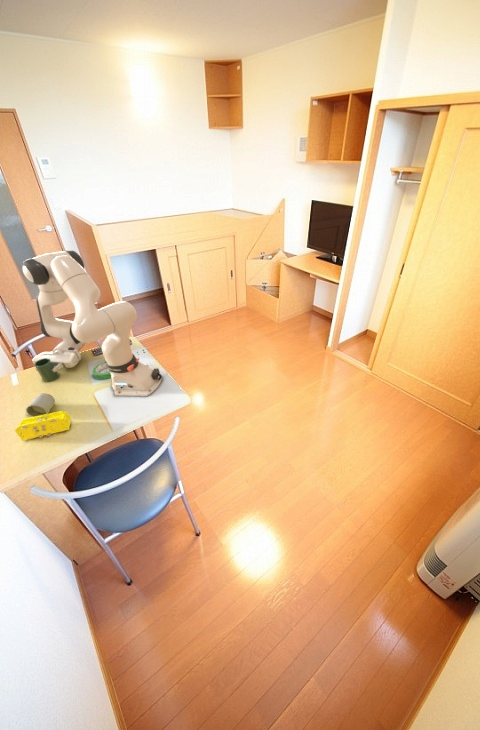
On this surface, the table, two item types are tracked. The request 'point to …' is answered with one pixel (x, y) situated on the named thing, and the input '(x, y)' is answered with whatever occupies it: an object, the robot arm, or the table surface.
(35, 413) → the ceramic mug
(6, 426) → the table surface
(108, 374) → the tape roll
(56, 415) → the yellow toy chassis
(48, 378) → the green cup
